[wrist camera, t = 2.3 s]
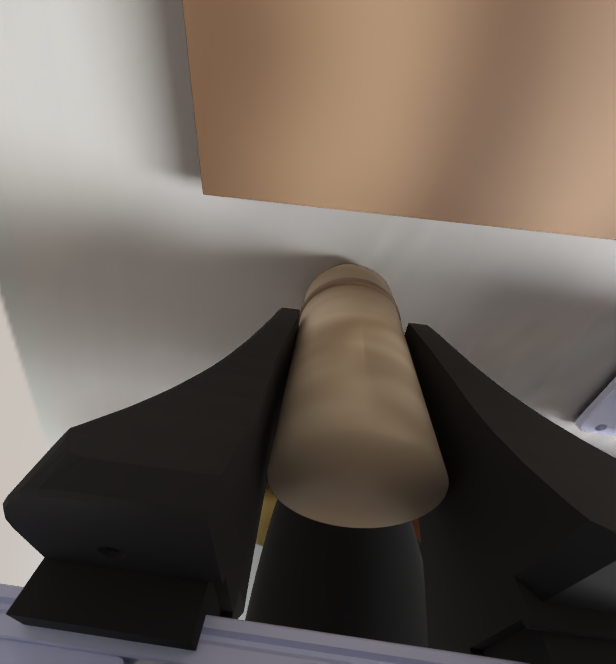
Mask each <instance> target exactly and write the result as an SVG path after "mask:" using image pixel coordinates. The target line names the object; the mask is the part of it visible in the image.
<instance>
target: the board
mask: <svg viewBox="0 0 616 664" xmlns="http://www.w3.org/2000/svg"><path fill="white" fill-rule="evenodd" d="M182 2H183V11H184V20H185V30H186V39H187V48H188V58H189V67H190V76H191V86H192V95H193V105H194V114H195V123H196V133H197V142H198V151H199V161H200V170H201V179H202V189H203V194H204V195H213V196H222V197H231V198H240V199H249V200H258V201H267V202H276V203H285V204H294V205H303V206H312V207H321V208H330V209H339V210H348V211H357V212H366V213H376V214H385V215H394V216H403V217H412V218H421V219H430V220H439V221H448V222H457V223H466V224H475V225H484V226H493V227H502V228H511V229H520V230H529V231H539V232H548V233H557V234H566V235H575V236H584V237H593V238H602V239H611V240H616V0H182Z"/></svg>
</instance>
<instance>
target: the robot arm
mask: <svg viewBox="0 0 616 664" xmlns="http://www.w3.org/2000/svg"><path fill="white" fill-rule="evenodd" d="M299 316H300V310H296V309H288V308H281V309H280V310H278V312H277V313H276V314H275V315H274V316H273V317H272V318H271V319H270V320H269V321H268V322H267V323H266V324H265V325H264V326H263V327H262V328H261V329H260V330H258V331H257V332H256V333H255V334H254V335H253V336H252V337H251V338H250V339H248V340H247V341H246V342H245V343H243V344H242V345H241V346H240V347H238V348H237V349H236V350H235V351H233V352H232V353H231V354H229V355H228V356H227V357H225V358H224V359H222V360H221V361H219V362H218V363H216V364H215V365H213V366H212V367H210V368H209V369H207V370H205V371H203V372H202V373H200V374H198V375H196V376H194V377H192V378H190V379H189V380H187V381H185V382H183V383H181V384H179V385H177V386H175V387H173V388H171V389H169V390H167V391H165V392H163V393H161V394H158V395H156V396H154V397H152V398H149V399H147V400H145V401H142V402H140V403H138V404H135V405H133V406H130V407H128V408H125V409H122V410H120V411H117V412H114V413H111V414H109V415H106V416H103V417H100V418H97V419H95V420H92V421H89V422H86V423H84V424H81V425H78V426H75V427H72V428H70V429H69V430H68V431H67V432H66V433H65V434H64V435H63V436H62V437H61V438H60V439H59V440H58V441H57V442H56V443H55V444H54V445H53V447H52V448H51V449H50V450H49V451H48V452H47V453H46V454H45V455H44V456H43V458H42V459H41V460H40V461H39V462H38V463H37V464H36V465H35V466H34V467H33V469H32V470H31V471H30V472H29V473H28V474H27V475H26V476H25V477H24V478H23V480H22V481H21V482H20V483H19V484H18V485H17V486H16V487H15V488H14V489H13V491H12V492H11V493H10V494H9V495H8V496H7V498H6V499H5V501H4V503H3V509H4V514H5V518H6V520H7V521H8V522H9V523H10V524H11V526H12V527H13V528H14V529H15V530H16V531H17V532H18V533H19V534H20V535H21V536H22V537H23V538H24V539H26V540H27V541H28V542H29V543H30V544H31V545H32V546H33V547H34V548H35V549H36V550H38V551H39V553H41V554H42V555H43V556H44V557H45V558H44V559H43V561H42V562H41V564H40V565H39V566H38V568H37V569H36V571H35V572H34V574H33V575H32V576H31V578H30V579H29V581H28V582H27V584H26V585H25V587H19V586H12V585H6V584H0V664H616V458H614V457H612V456H610V455H609V454H607V453H605V452H603V451H601V450H599V449H598V448H596V447H594V446H592V445H590V444H589V443H587V442H585V441H583V440H582V439H580V438H578V437H577V436H575V435H573V434H571V433H570V432H568V431H566V430H565V429H563V428H561V427H560V426H558V425H556V424H555V423H553V422H551V421H550V420H548V419H547V418H545V417H543V416H542V415H540V414H539V413H537V412H536V411H534V410H533V409H531V408H530V407H528V406H527V405H525V404H524V403H522V402H521V401H520V400H518V399H517V398H515V397H514V396H512V395H511V394H510V393H508V392H507V391H505V390H504V389H503V388H501V387H500V386H499V385H498V384H496V383H495V382H494V381H492V380H491V379H490V378H489V377H487V376H486V375H485V374H483V373H482V372H481V371H480V370H479V369H477V368H476V367H475V366H474V365H473V364H471V363H470V362H469V361H468V360H467V359H466V358H465V357H463V356H462V355H461V354H460V353H459V352H458V351H457V350H455V349H454V348H453V347H452V346H451V345H450V344H449V343H448V342H447V341H445V340H444V339H443V338H442V337H441V336H440V335H439V334H437V333H436V332H435V331H434V330H433V329H431V328H430V327H429V326H427V325H421V324H412V323H408V326H407V329H406V332H405V339H406V342H407V345H408V348H409V352H410V355H411V358H412V361H413V365H414V368H415V371H416V374H417V377H418V381H419V384H420V387H421V390H422V394H423V397H424V400H425V403H426V407H427V410H428V413H429V416H430V420H431V423H432V426H433V429H434V432H435V436H436V439H437V442H438V445H439V449H440V452H441V455H442V458H443V462H444V465H445V468H446V471H447V475H448V479H449V486H448V490H447V493H446V495H445V497H444V499H443V500H442V501H441V503H440V504H439V505H438V506H437V507H435V508H434V509H433V510H432V511H430V512H429V513H427V514H425V515H423V516H421V517H419V526H420V535H421V547H422V558H423V570H424V583H425V599H426V615H427V634H428V648H424V647H417V646H411V645H404V644H398V643H391V642H384V641H378V640H371V639H364V638H358V637H351V636H344V635H338V634H331V633H325V632H318V631H311V630H305V629H298V628H291V627H285V626H278V625H271V624H265V623H258V622H252V621H244V620H238V618H239V617H240V616H241V615H242V613H243V612H244V607H245V601H246V595H247V589H248V582H249V578H250V572H251V566H252V560H253V554H254V549H255V543H256V537H257V532H258V526H259V521H260V515H261V510H262V504H263V499H264V493H265V488H266V482H267V471H268V465H269V461H270V456H271V452H272V447H273V442H274V438H275V433H276V428H277V424H278V419H279V415H280V410H281V405H282V401H283V396H284V392H285V387H286V382H287V378H288V373H289V368H290V364H291V359H292V355H293V350H294V346H295V342H296V337H297V332H298V328H299ZM575 424H576V425H577V427H578V428H579V429H580V430H581V431H584V432H591V433H599V434H607V435H615V436H616V377H615V378H614V379H613V380H612V381H611V382H610V383H609V385H608V386H607V387H606V388H605V389H604V390H603V391H602V392H601V393H600V394H599V395H598V397H597V398H596V399H595V400H594V401H593V402H592V403H591V404H590V405H589V406H588V408H587V409H586V410H585V411H584V412H583V413H582V414H581V415H580V416H579V417H578V418H577V420H576V422H575Z"/></svg>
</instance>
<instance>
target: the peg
mask: <svg viewBox="0 0 616 664" xmlns="http://www.w3.org/2000/svg"><path fill="white" fill-rule="evenodd" d="M267 480H268V484H269V487H270V489H271V490H272V492H273V494H274V495H275V496H276V497H277V499H279V500H280V501H281V502H282V503H283V504H284V505H285V506H287V507H288V508H290V509H291V510H293V511H295V512H296V513H298V514H300V515H302V516H305V517H307V518H310V519H312V520H315V521H319V522H322V523H326V524H330V525H336V526H341V527H350V528H378V527H387V526H393V525H398V524H402V523H406V522H409V521H412V520H414V519H417V518H419V517H421V516H423V515H425V514H427V513H429V512H430V511H432V510H433V509H434V508H435V507H437V506H438V505H439V504H440V503H441V501H442V500H443V499H444V497H445V495H446V493H447V490H448V486H449V479H448V475H447V471H446V468H445V465H444V462H443V458H442V455H441V452H440V449H439V445H438V442H437V439H436V436H435V432H434V429H433V426H432V423H431V420H430V416H429V413H428V410H427V407H426V403H425V400H424V397H423V394H422V390H421V387H420V384H419V381H418V377H417V374H416V371H415V368H414V365H413V361H412V358H411V355H410V352H409V348H408V345H407V342H406V339H405V335H404V332H403V329H402V326H401V318H400V314H399V311H398V308H397V305H396V303H395V301H394V300H393V297H392V293H391V291H390V288H389V286H388V285H387V283H386V281H385V280H384V279H383V278H382V277H381V276H380V275H379V274H377V273H376V272H374V271H373V270H370V269H368V268H366V267H363V266H359V265H356V264H342V265H338V266H335V267H332V268H330V269H328V270H326V271H324V272H323V273H321V274H320V275H319V276H317V277H316V278H315V279H314V281H313V282H312V283H311V284H310V286H309V288H308V290H307V292H306V295H305V299H304V304H303V306H302V308H301V312H300V316H299V328H298V332H297V337H296V342H295V346H294V350H293V355H292V359H291V364H290V368H289V373H288V378H287V382H286V387H285V392H284V396H283V401H282V405H281V410H280V415H279V419H278V424H277V428H276V433H275V438H274V442H273V447H272V452H271V456H270V461H269V465H268V471H267Z"/></svg>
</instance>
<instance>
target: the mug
mask: <svg viewBox="0 0 616 664" xmlns="http://www.w3.org/2000/svg"><path fill="white" fill-rule="evenodd" d="M245 621H252V622H258V623H265V624H271V625H278V626H285V627H291V628H298V629H305V630H311V631H318V632H325V633H331V634H338V635H344V636H351V637H358V638H364V639H371V640H378V641H384V642H391V643H398V644H404V645H411V646H417V647H424V648H428V634H427V615H426V599H425V583H424V570H423V558H422V547H421V543H420V541H419V540H418V539H417V538H416V535H415V531H414V528H413V525H412V522H411V521H409V522H406V523H402V524H398V525H393V526H387V527H378V528H350V527H341V526H336V525H330V524H326V523H322V522H319V521H315V520H312V519H310V518H307V517H305V516H302V515H300V514H298V513H296V512H295V511H293V510H291V509H290V508H288V507H287V506H285V505H284V504H283V503H282V502H281V501H280V500H279V499H277V501H276V505H275V508H274V511H273V514H272V517H271V521H270V524H269V527H268V531H267V534H266V538H265V542H264V545H263V549H262V553H261V557H260V561H259V564H258V569H257V572H256V576H255V581H254V584H253V588H252V593H251V597H250V601H249V606H248V610H247V615H246V619H245Z"/></svg>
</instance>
